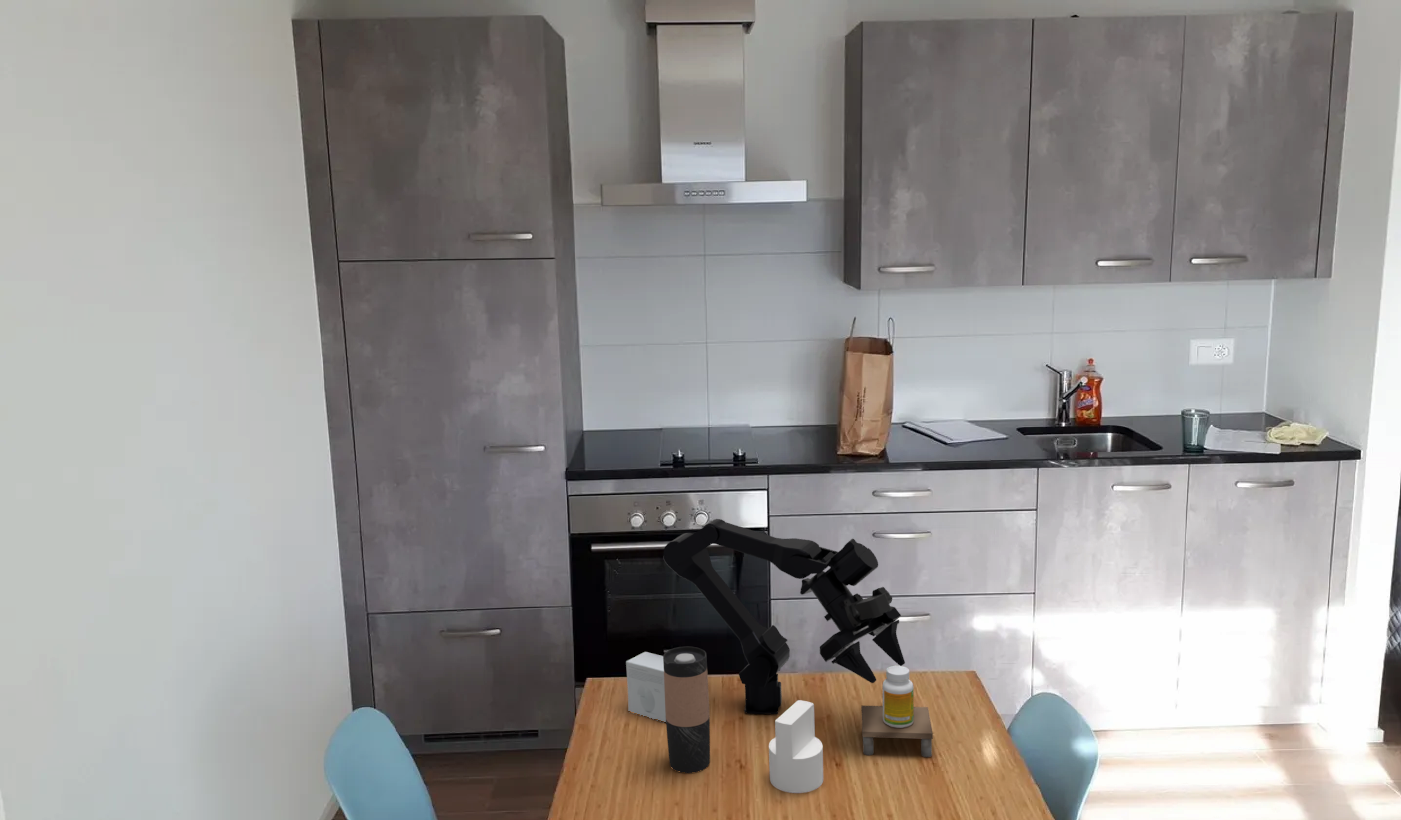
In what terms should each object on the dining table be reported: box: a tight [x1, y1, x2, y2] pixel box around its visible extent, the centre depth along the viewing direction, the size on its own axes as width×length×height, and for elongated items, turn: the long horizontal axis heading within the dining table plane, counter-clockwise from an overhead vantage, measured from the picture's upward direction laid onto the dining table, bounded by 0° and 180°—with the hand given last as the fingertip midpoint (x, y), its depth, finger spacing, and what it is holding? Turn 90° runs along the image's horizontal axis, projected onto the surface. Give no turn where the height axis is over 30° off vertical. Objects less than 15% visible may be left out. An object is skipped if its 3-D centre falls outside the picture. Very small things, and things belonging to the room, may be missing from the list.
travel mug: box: [662, 646, 711, 774], centre depth 175 cm, size 8×8×20 cm
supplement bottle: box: [882, 665, 915, 728], centre depth 178 cm, size 5×5×10 cm
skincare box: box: [625, 651, 666, 723], centre depth 196 cm, size 10×6×10 cm, turn 54°
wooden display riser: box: [861, 705, 934, 758], centre depth 180 cm, size 12×10×4 cm
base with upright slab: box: [768, 699, 824, 794], centre depth 169 cm, size 9×9×12 cm
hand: (889, 673), depth 179 cm, fingers open, 9 cm apart
